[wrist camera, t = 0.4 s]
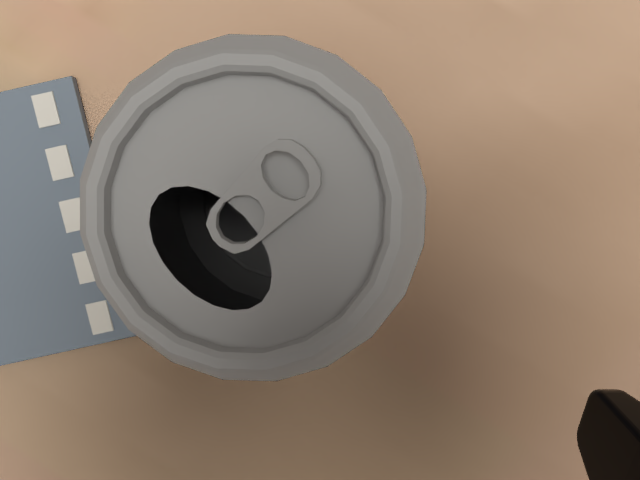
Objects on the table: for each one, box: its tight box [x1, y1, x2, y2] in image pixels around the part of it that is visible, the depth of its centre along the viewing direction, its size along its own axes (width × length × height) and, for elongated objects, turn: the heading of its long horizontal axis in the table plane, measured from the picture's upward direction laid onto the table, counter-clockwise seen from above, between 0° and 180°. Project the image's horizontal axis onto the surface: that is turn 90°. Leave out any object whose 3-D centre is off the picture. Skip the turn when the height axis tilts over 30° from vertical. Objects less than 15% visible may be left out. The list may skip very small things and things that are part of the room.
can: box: [80, 34, 426, 381], centre depth 17 cm, size 8×8×12 cm
